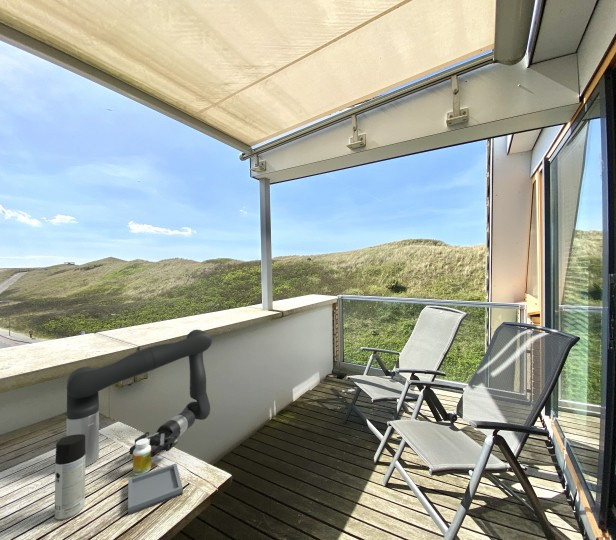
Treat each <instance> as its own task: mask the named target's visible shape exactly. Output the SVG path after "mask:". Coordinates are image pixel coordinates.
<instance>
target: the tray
mask: <svg viewBox="0 0 616 540" xmlns="http://www.w3.org/2000/svg"><path fill="white" fill-rule="evenodd" d="M127 485H128V487H127V490H128V492H127V493H128V494H127V496H128V498H127V499H128V502H127V510H128V511H127V512H128V513H127V516H130V515H134V514H136V513H139V512H141V511H143V510H147V509H149V508H151V507H152V508H153V507H154V506H156V505H159V504H162V503H164V502H167V500H168V501H170V500H172V498H173V499H176V498H178V497H180V495H181V496H183V495H182V494H184V493H183V492H184V490H183V488H184V487H183V484H182V480H181V477H180V471H179V468H178V464H177V463H172V464H169V465H167V466H164V467H161V468H158V469H154V470H151V471H148V472H146V473H144V474H141V475H136V476H133V477H130V478H129V477H128V482H127ZM177 496H178V497H177Z"/></svg>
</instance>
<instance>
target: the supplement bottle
mask: <svg viewBox="0 0 616 540" xmlns="http://www.w3.org/2000/svg"><path fill="white" fill-rule="evenodd" d="M149 444H150V439H147V438H144V439H140V440H138V441H137V442H136V443H135V442H134V445H135V447H136V448H135V449H134V451H133V454H132V473H133V474H134V475H136V476H138V475H142V474H145V473H148V472H150V470H151V468H152V457H150V452H151V451H152V446H150V445H149Z"/></svg>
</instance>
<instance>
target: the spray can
mask: <svg viewBox="0 0 616 540" xmlns="http://www.w3.org/2000/svg"><path fill="white" fill-rule="evenodd" d="M85 453H86V450H85V435H84V434H82V435H81V434H77V435H70V436H67V435H66V436H65V437H63V438H61V439H60V440H58V441H57V442H56V445H55V462H54V463H55V464H54V466H55V468H54V511H53V512H54V519H55V520H58V521H65V520H68V519H70V518H72V517H74V516H75V515H78V513H80V512H81V511H82V510H83V509H84V507H85V503H86V501H85V500H86V495H85V494H86V467H85Z"/></svg>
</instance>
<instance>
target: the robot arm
mask: <svg viewBox="0 0 616 540" xmlns="http://www.w3.org/2000/svg"><path fill="white" fill-rule="evenodd" d="M212 342H213V339H212V336H211V335H210V334H209V333H208V332H206V331H203V330H201V329H193V330H191V331H190V332H189V333H188V334H187V335H186V338H184V339H182V340H178V341H175V342H170V343H164V344H163V343H162V344H156V345H153V346H149V347H146V348H142V349H140V350H137V351H135V352H132V353H130V354H128V355H127V356H125V357H123V358H121V359H119V360H118V361H116V362H114V363H112V364H109V365H105V366H102V367H100V368H96V369H94V367H90V366H82V367H80V368H76V369H75V370H74V371H72V372H71V374H70V375H69V376H68V378H67V381H66V437H67V436H70V435H77V434H81V435H82V434H84V435H85V450H86V453H85V468H87V467H89V466H91V465H93V464H94V463H96V462H97V461H98V460H99V457H100V450H99V449H100V445H99V444H100V432H99V431H100V401H99V400H100V399H99V398H100V397H99V396H100V395H99V392H100V391H102V390H104V389H106V388H108V387H110V386H113V385H115V384H117V383H120V382H122V381H126V380H129V379H131V378H134V377H137V376H140V375H143V374H145V373H148V372H149V373H150V372H151V371H154V370H156V369H158V368H160V367H161V368H162V367H163V366H166V365H168V364H171V363H173V362H175V361H178V360H180V359H183V358H187V357H188V362H189V397H190V398H191V399H193V400H195V401H191V402H188V404H187V405H186V406H185V407H184V409H183V410H182V411H181V412H180V413H179V414H177V415H176V416H173V417H171V418H170V419H169V420H166V422H164V423H163V424H162V425H160V426H159V427H158V429H157V430H156V431H155V432H153V433H151V434H150V432H149V431H147V432H145V433H144V434H141V435H140V436H139V437H137V438H135V439H134V444H133V445H132V446H130V447H129V455H130V456H131V455H132V456H133V451H134V449H135V448H136V447H135V443H136V442H137V441H138V440H140V439H144V438H147V439H149V445H150V446H151V447H154V448H153V449H151V452H150V457H151V459H152V458H154V457H156V456H157V455H158V454H160V453H162V452H164V451H165V452H170V451H171V450H172V449H173V448H174V447H175V446H176V445H178V443H179V441H178V439H179V437H180V436H182V435H183V434H184V433H185V431H187V430H188V429H190V427H192V426H193V425H194V423H195V422H196V420H199V421H200V420H201V421H204V420H206V419H207V418H208V417H209V416H210V413H211V405H210V400H209V397H208V392H207V373H206V369H205V365H204V364H205V363H204V352H205V351H207V350H208V349H210V347H211V346H212V344H213V343H212ZM95 461H96V462H95ZM92 463H93V464H92ZM90 464H91V465H90ZM88 465H89V466H88ZM86 466H87V467H86Z"/></svg>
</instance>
